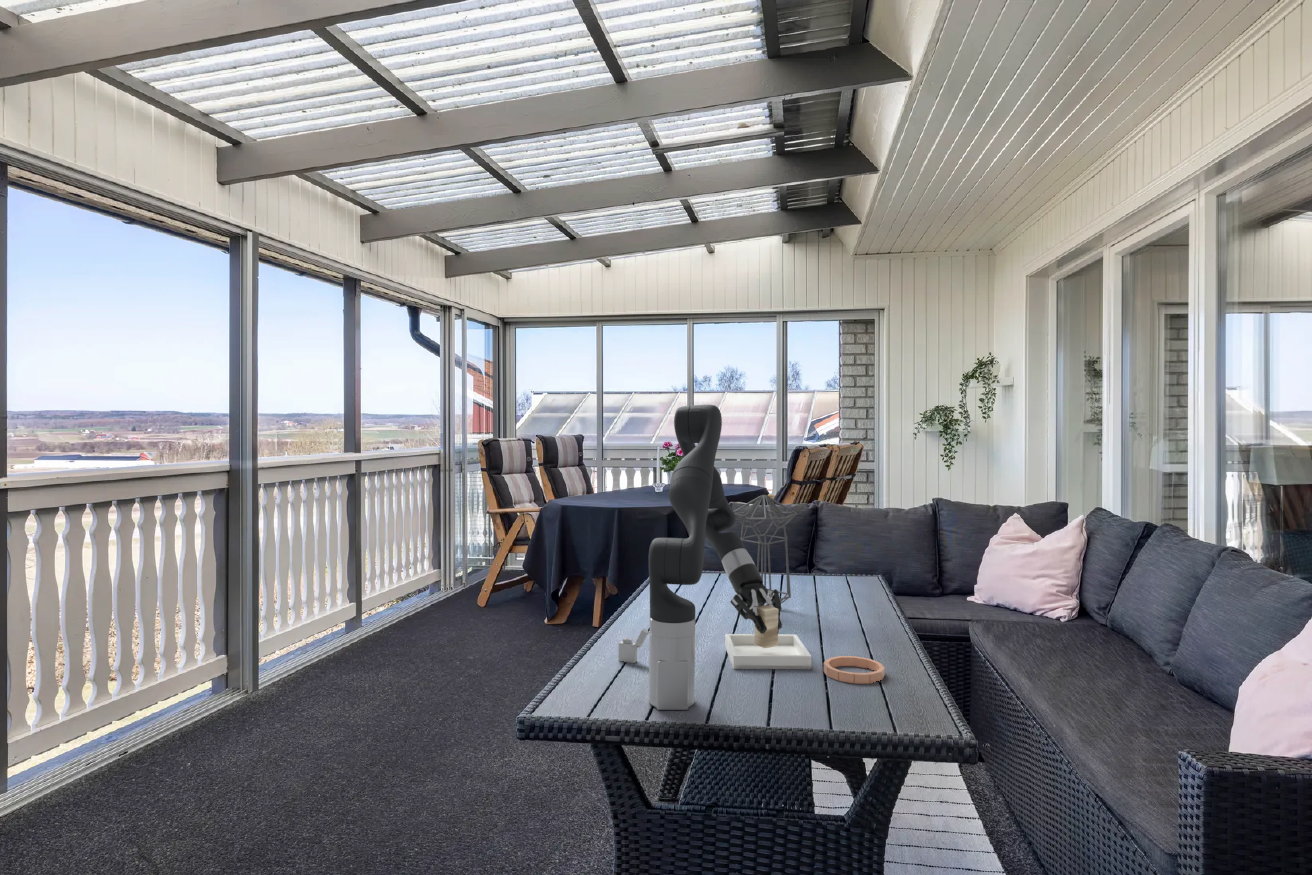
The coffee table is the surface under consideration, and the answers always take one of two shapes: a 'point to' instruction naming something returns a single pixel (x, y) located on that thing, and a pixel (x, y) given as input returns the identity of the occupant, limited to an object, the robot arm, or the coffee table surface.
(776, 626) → the birch block
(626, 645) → the lighter
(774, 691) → the coffee table surface
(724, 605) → the coffee table surface
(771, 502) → the geometric lantern
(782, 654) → the tray
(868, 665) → the orange ring
